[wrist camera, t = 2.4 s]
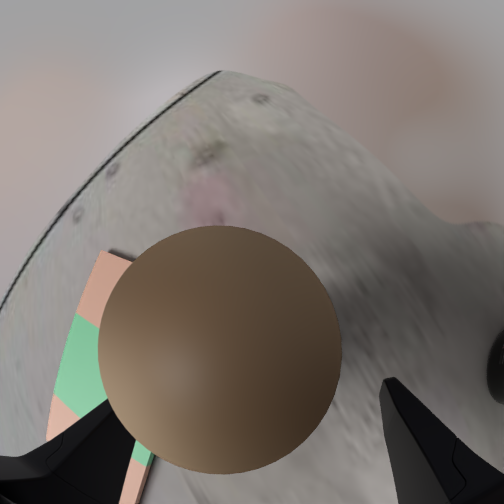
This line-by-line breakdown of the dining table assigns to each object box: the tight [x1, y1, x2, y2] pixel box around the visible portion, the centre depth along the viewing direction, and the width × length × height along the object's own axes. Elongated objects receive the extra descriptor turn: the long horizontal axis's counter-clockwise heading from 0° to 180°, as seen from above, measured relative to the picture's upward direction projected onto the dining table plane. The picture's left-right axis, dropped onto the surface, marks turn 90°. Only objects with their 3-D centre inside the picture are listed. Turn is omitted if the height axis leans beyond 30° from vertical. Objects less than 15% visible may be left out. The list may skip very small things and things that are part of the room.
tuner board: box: [46, 250, 154, 504], centre depth 18 cm, size 22×12×1 cm, turn 161°
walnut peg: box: [98, 226, 342, 474], centre depth 11 cm, size 5×5×14 cm
